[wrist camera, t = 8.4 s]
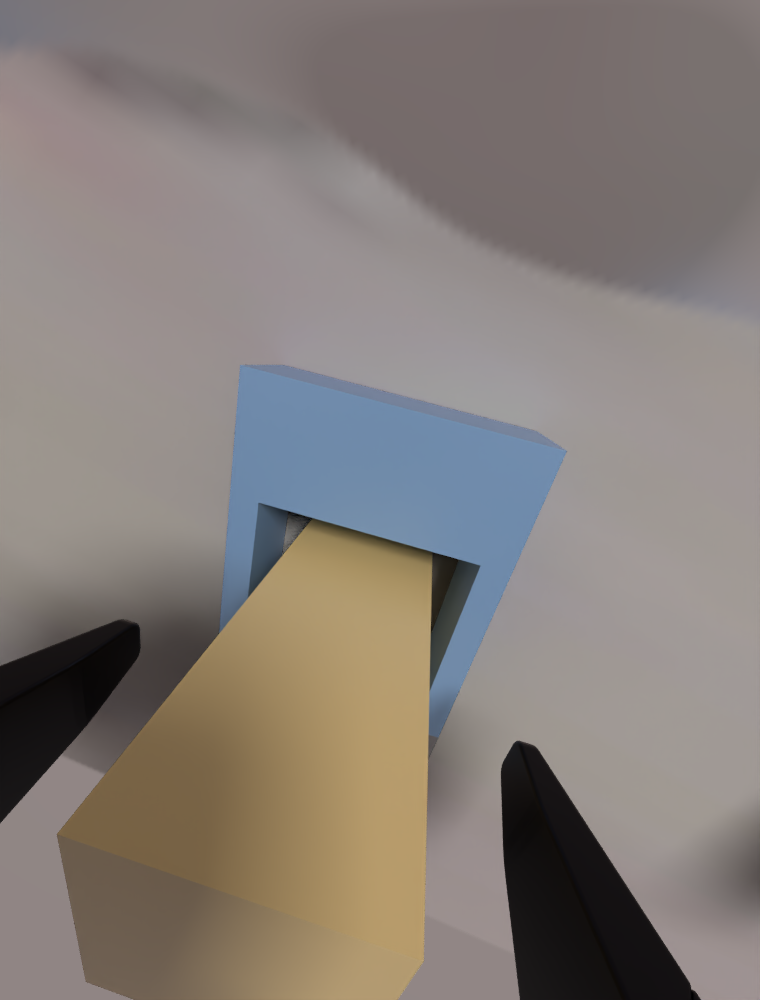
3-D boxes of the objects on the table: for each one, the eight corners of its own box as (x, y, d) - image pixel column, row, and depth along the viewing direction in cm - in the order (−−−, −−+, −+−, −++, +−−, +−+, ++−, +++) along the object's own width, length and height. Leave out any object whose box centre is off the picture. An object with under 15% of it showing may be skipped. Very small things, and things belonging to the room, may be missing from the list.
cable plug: (401, 634, 13) (345, 1076, 5) (300, 604, 14) (85, 982, 5) (432, 543, 12) (423, 961, 4) (318, 511, 12) (56, 834, 4)
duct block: (380, 816, 17) (371, 886, 15) (233, 768, 18) (203, 829, 16) (537, 431, 10) (566, 450, 8) (283, 365, 11) (240, 365, 8)
